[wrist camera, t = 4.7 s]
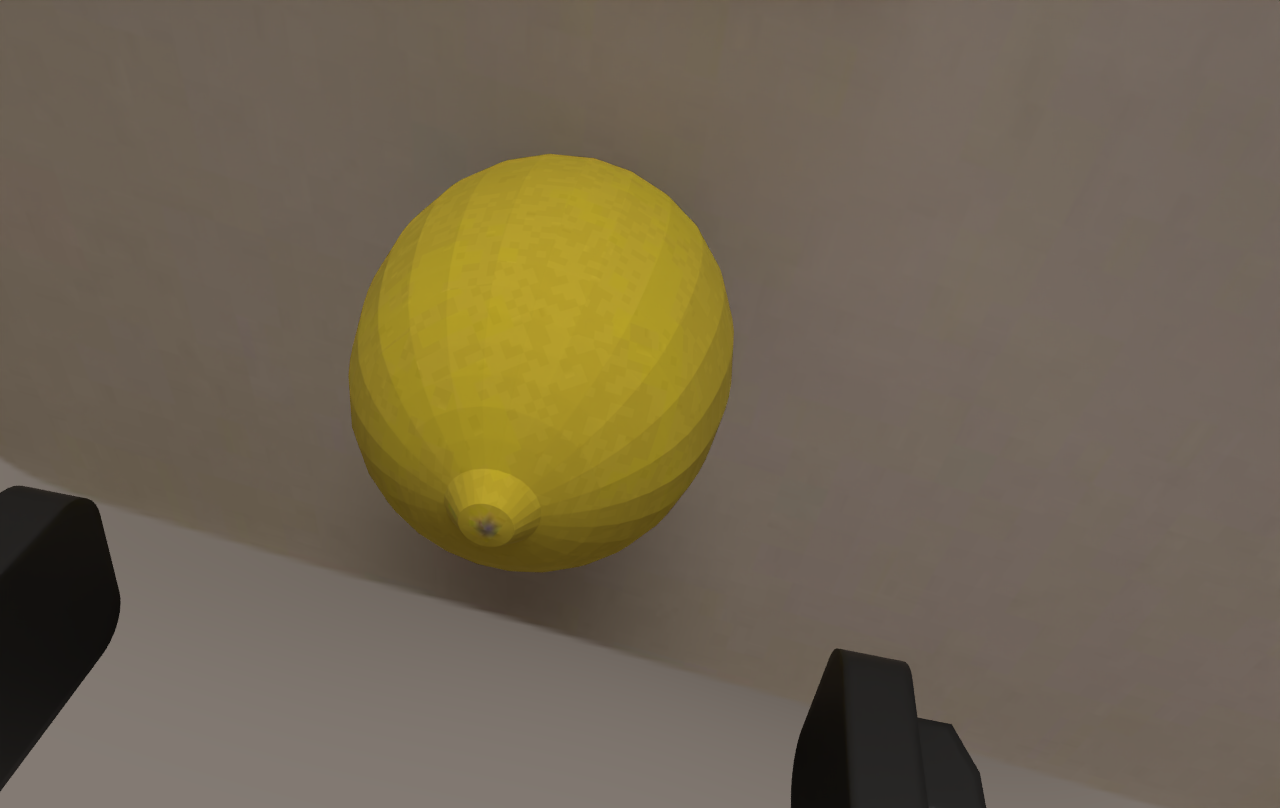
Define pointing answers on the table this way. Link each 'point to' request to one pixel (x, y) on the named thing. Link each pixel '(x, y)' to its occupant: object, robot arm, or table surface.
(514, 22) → the table surface
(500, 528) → the lemon
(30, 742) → the robot arm
